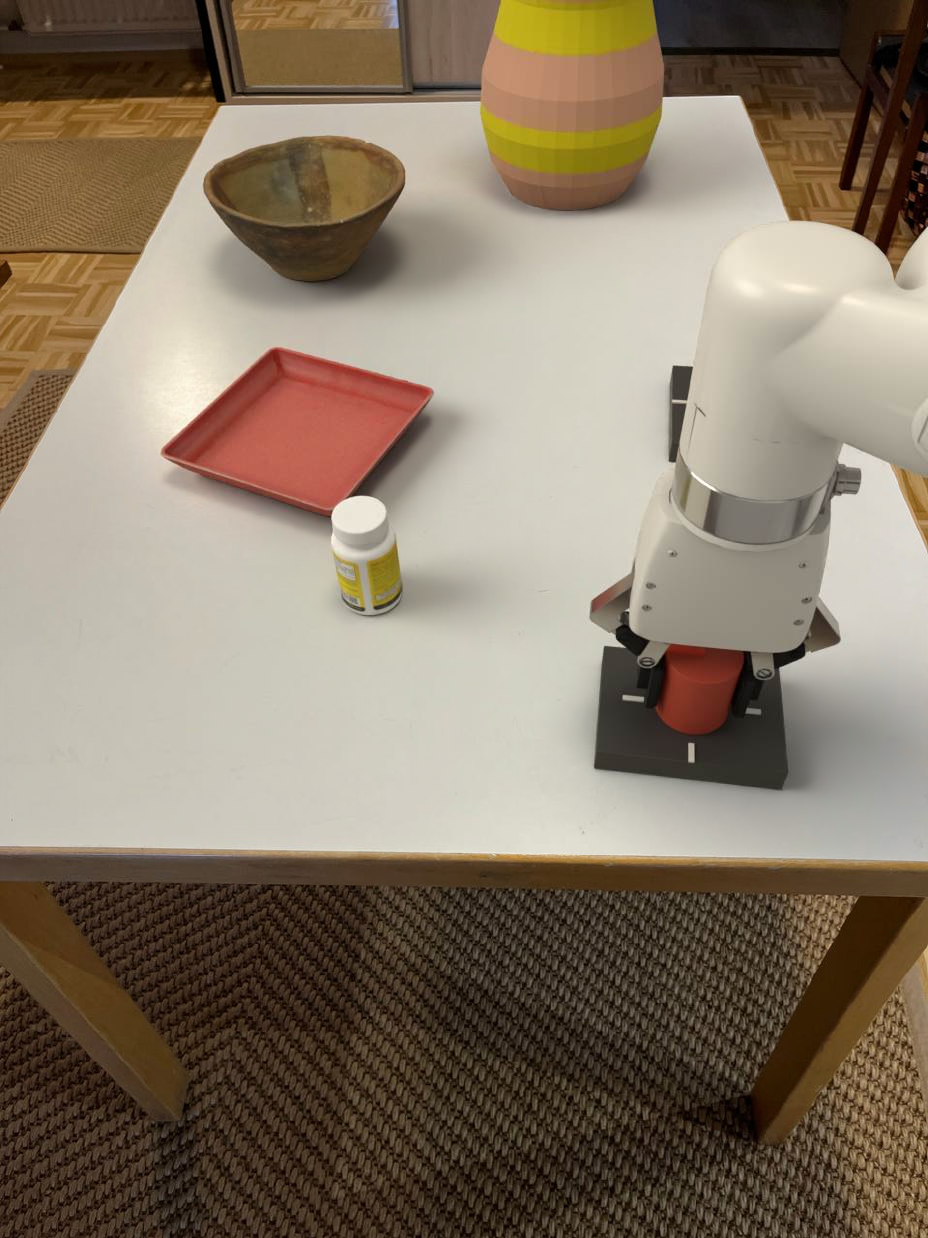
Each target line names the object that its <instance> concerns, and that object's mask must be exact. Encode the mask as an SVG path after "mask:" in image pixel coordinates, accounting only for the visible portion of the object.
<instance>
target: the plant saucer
mask: <svg viewBox="0 0 928 1238" xmlns="http://www.w3.org/2000/svg"><path fill="white" fill-rule="evenodd" d="M434 394H435V390H434V389H433V388H432V387H429V386H427V385H423V384H419V383H414V382H411V381H408V380H405V379H400V378H397V377H393V376H389V375H385V374H381V373H378V372H374V371H371V370H368V369H363V368H361V367H356V366H353V365H348V364H345V363H341V362H339V361H335V360H329V359H327V358H322V357H319V356H315V355H311V354H307V353H303V352H300V351H296V350H292V349H289V348H284V347H280V346H276V347H271V348H269V349H268V350H267V351H266V352H264V353H263V355H261V356H260V357H259V358H258V359H257V360H256V361H255V362H254V363H253V364H251V365H250V367H248V368H247V369H246V370H245V371H243V373H242V374H241V375H239V377H238V378H236V379H235V380H234V381H233V382H232V383H230V385H229V386H227V388H225V390H223V391H222V392H221V393H220V394H219V395H218V396H217V397H216V398H215V399H213V401H212V402H210V403H209V404H208V405H207V406H206V407H205V408H204V409H202V410H201V412H200V413H198V414H197V415H196V417H194V418H193V419H192V420H191V421H190V422H189V423H188V424H187V425H185V426H184V427H183V428H182V429H181V430H180V431H179V432H178V433H176V434H175V436H173V437H172V438H171V439H170V440H169V441H168V442H167V443H165V445H163V447H161V450H160V456H161V457H162V458H164V459H166V460H167V461H169V462H171V463H173V464H175V465H177V466H179V467H181V468H183V469H185V470H187V471H190V472H191V473H195V474H197V475H200V476H203V477H206V478H209V479H213V480H216V481H219V482H221V483H225V484H229V485H231V486H234V487H237V488H240V489H243V490H246V491H249V492H252V493H256V494H259V495H262V496H265V497H268V498H270V499H274V500H277V501H280V502H282V503H286V504H289V505H292V506H294V507H297V508H300V509H303V510H307V511H310V512H313V513H315V514H319V515H322V516H324V517H325V516H326V517H330V516H331V517H332V512H333V510H334V508H335V507H336V506H337V505H338V504H339V503H340V502H342V501H344V500H346V499H348V498H351V497H353V494H354V493H356V491H357V490H358V488H360V486H361V485H362V484H363V483H364V482H365V480H366V479H367V478H368V476H370V474H372V472H373V470H374V469H375V468H376V467H377V466H378V465H379V463H380V462H382V460H383V459H384V458H385V457H386V455H387V454H388V453H389V452H390V450H391V449H392V448H393V447H394V446H395V444H396V443H397V442H398V441H399V439H400V438H401V437H402V436H403V435H404V434H405V433H406V431H407V430H408V429H409V428H410V426H412V424H413V423H414V422H415V421H416V419H417V418H418V417H419V416H420V415H421V413H422V412H423V411H424V409H425V408H426V407H427V406H428V404H429V402H430V401H431V400H432V398H433V396H434Z"/></svg>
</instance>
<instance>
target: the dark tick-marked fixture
mask: <svg viewBox="0 0 928 1238" xmlns="http://www.w3.org/2000/svg"><path fill="white" fill-rule="evenodd" d="M601 657H602V658H601V665H600V666H601V668H600V681H599V695H598V707H597V723H596V735H595V747H594V762H593V768H594V769H597V770H605V771H606V770H607V771H615V772H624V773H633V774H641V775H650V776H658V777H666V778H675V779H684V780H693V781H701V782H710V783H718V784H728V785H736V786H744V787H751V788H753V787H754V788H762V789H771V790H780V791H781V790H782V789H783V787H784V784H785V783H786V780H787V778H788V775H789V764H788V755H787V754H788V752H787V741H786V731H785V729H786V728H785V727H786V726H785V718H784V707H783V694H782V681H781V670H780V668H778V669H775V670H774V672H775V674H774V676H773V677H772V678H771V679H768V680H764V683H763V686H762V689H761V691H760V694H759V697H758V700H757V701H755V700H750V701H749V704H748V707H747V710H746V713H745V716H744V718H737V717H735V715H732V705H730V709H729V712H728V715H727V718H726V720H725V721H724V723H723V724H722V725H721V726H720V727H719V728H718V729H716V730H714V731H712V732H710V733H707V734H701V735H691V734H685V733H682V732H679V731H677V730H675V729H673V728H671V727H670V726H668V725H667V724H666V723H665V722H664V721H663V720H662V719H661V718H660V716H659V715H658V713H657V711H656V708H655V707H654V708H653V709H652V708H645V696H646V689H640V688H636V678H637V668H638V663H637V656H635V655H634V654H633V653H632V652H631V651H629V650H628V649H627V648H626V647H620V646H611V645H610V646H609V645H604V646H603V649H602V656H601Z"/></svg>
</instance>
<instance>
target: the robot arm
mask: <svg viewBox="0 0 928 1238" xmlns="http://www.w3.org/2000/svg"><path fill="white" fill-rule="evenodd" d="M890 263H891V262H890V261H889V260H888V257H887V256H886V255H885V253H883V251H882V250H881V249H880V248H879V247H878V246H877V245H876V244H875V243H873V242H872V241H871V240H869V239H868V238H867V237H865V236H863V235H861V234H859V233H857V232H855V231H853V230H850V229H847V228H844V227H842V226H839V225H838V226H837V225H834V224H831V223H830V224H829V223H825V222H819V221H812V220H811V221H810V220H783V221H782V220H781V221H774V222H767V223H763V224H760V225H756V226H754V227H752V228H750V229H747V230H746V231H743V232H741V233H739V234H738V235H736V236H734V237H733V238H732V239H731V240H730V241H729V242H727V244H726V245H725V246H724V247H723V248H722V249H721V250H720V252H719V254H718V255H717V257H716V259H715V261H714V263H713V265H712V267H711V269H710V273H709V279H708V282H707V287H706V292H705V298H704V304H703V309H702V310H703V311H702V315H701V320H700V326H699V332H698V337H697V342H696V348H695V353H694V358H693V359H694V360H693V365H692V367H693V370H692V376H691V382H690V389H689V394H688V400H687V405H686V410H685V416H684V421H683V427H682V432H681V437H680V443H679V448H678V453H677V459H676V462H675V466H674V468H669V469H668V470H665V472H663V473H662V474H661V475H660V477H659V478H658V480H657V481H656V484H655V485H654V488H653V490H652V492H651V495H650V498H649V500H648V503H647V505H646V509H645V512H644V515H643V518H642V521H641V526H640V529H639V532H638V537H637V540H636V545H635V550H634V554H633V558H632V559H633V560H632V565H631V569H630V570H631V571H630V573H628V574H627V575H626V576H624V577H623V578H621V579H620V580H618V581H616V582H615V583H614V584H613V585H611V586H610V587H608V588H607V589H605V590H604V591H603V592H601V593H600V594H598V595H597V596H595V597H594V598H593V599H591V600H590V605H589V615H588V618H589V621H591V622H592V623H593V624H595V625H596V626H598V627H599V628H601V629H602V630H604V631H605V632H607V633H608V634H610V633H611V634H613V635H614V636H615V640H616V641H617V643H619V644H621V646H623V648H627V649H628V650H629V651H631V652H632V653H633V654H634V655H635V656H637V663H638V668H637V678H636V688H640V689H646V696H645V708H652V709H653V708H654V707H657V703H658V698H659V693H660V689H661V684H662V679H663V674H664V653H665V652H666V650H667V649H668V647H669V646H670V644H671V643H672V644H681V645H690V646H700V647H710V648H720V649H731V650H742V651H743V653H744V663H743V667H742V670H741V673H740V677H739V680H738V683H737V686H736V689H735V693H734V696H733V699H732V702H731V705H732V715H735V717H737V718H744V716H745V713H746V710H747V707H748V704H749V701H750V700H755V701H757V700H758V697H759V694H760V691H761V689H762V686H763V683H764V680H768V679H771V678H772V677H773V676H774V674H775V672H774V670H775V669H778V668H779V669H781V668H782V667H785V666H788V665H789V664H792V663H794V662H797V661H800V660H802V659H803V658H804V657H805V656H806V654H807V653H811V654H812V653H815V652H819V651H821V650H824V649H827V648H831V647H834V646H836V645H838V644H840V643H841V641H842V637H841V631H840V624H839V621H838V620H837V619H836V618H835V616H834V615H833V614H832V612H831V611H830V610H829V608H828V607H827V606H826V604H825V603H824V601H823V600H822V598H821V597H820V592H821V588H822V583H823V579H824V574H825V573H824V572H825V568H826V564H827V559H828V558H827V557H828V552H829V544H830V535H831V523H832V521H831V519H832V500H833V498H834V497H836V496H837V497H841V496H842V495H854V496H855V495H857V494H858V493H859V492H860V488H861V483H862V468H860V467H851V466H846V464H845V463H839V457H840V455H841V452H842V449H843V446H844V445H847V446H849V447H852V448H854V449H856V450H859V451H861V452H862V453H865V454H868V455H869V456H872V457H875V458H876V459H879V460H881V461H883V462H885V463H888V464H890V465H892V466H895V467H897V468H898V469H902V470H904V471H906V472H908V473H909V472H910V473H911V474H913V475H917V476H920V477H921V478H925V479H928V226H926V228H925V229H924V230H923V231H922V232H921V234H919V236H918V237H917V239H916V240H915V241H914V242H913V244H912V245H911V247H910V248H909V249H908V251H907V253H906V254H905V256H904V258H903V260H902V262H901V263H900V265H899V267H898V270H897V271H896V275H895V277H894V272H893V268H892V266H891V264H890Z"/></svg>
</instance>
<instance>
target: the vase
mask: <svg viewBox="0 0 928 1238" xmlns="http://www.w3.org/2000/svg"><path fill="white" fill-rule="evenodd" d="M656 21H657V20H656V14H655V7H654V2H653V0H500V4H499V8H498V12H497V16H496V20H495V24H494V27H493V32H492V35H491V39H490V42H489V44H488V48H487V52H486V55H485V58H484V62H483V65H482V69H481V85H480V86H481V87H480V88H481V89H480V91H481V92H480V107H479V108H480V111H479V115H480V119H481V124H482V128H483V133H484V136H485V142H486V145H487V150H488V153H489V158H490V161H491V163H492V165H493V166H494V168H495V169H496V171H497V174H498V175H499V176H500V178H501V179H502V181H503V183H504V185H505V187H507V189H508V191H509V192H510V194H511V195H512V196H513V197H515V198H516V199H517V200H519V201H521V202H523V203H524V204H527V205H530V206H534V207H536V208H541V209H546V210H554V211H582V210H587V209H588V210H589V209H594V208H597V207H601V206H604V205H607V204H609V203H612V202H613V201H616V200H617V199H618V198H619V197H621V196H622V195H623V194H624V193H625V192H626V190H627V189H628V187H629V186H630V185H631V184H632V182H633V181H634V179H635V178H636V176H637V175H638V174H639V172H640V171H641V169H643V167H644V165H645V164H646V162H647V160H648V158H649V154H650V151H651V148H652V146H653V142H654V140H655V137H656V135H657V131H658V129H659V126H660V123H661V120H662V116H663V98H664V82H665V64H664V59H663V54H662V48H661V43H660V38H659V33H658V28H657V22H656Z"/></svg>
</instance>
